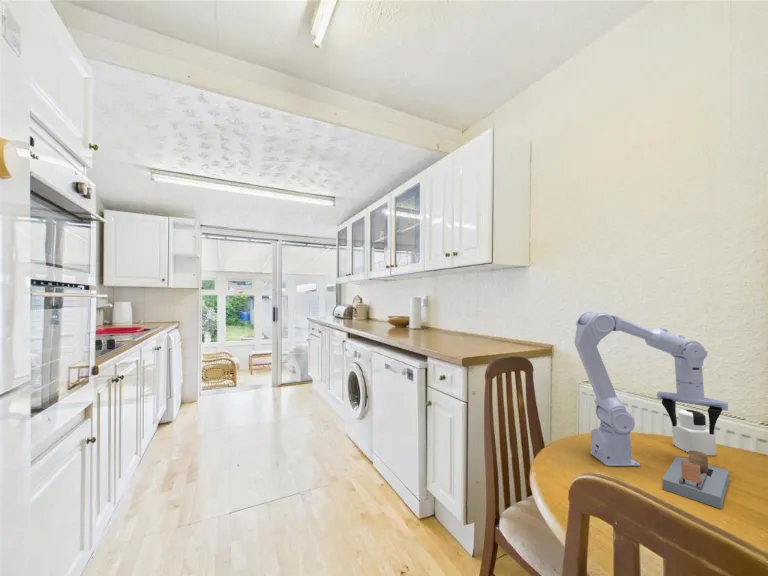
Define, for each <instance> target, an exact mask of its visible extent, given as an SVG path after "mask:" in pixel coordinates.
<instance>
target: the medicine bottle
mask: <svg viewBox="0 0 768 576" xmlns="http://www.w3.org/2000/svg"><path fill="white" fill-rule="evenodd" d="M706 423H707V422H706V415H705V414H704V413H703V412H700V411H697V410H693V409H680V410H678V422H677V425H676V427H675V426H672V425H671V433H672V445H673V446H674V445H675V446H674V447H676V448H678V449H680V450H682V451H684V452H685V451H686V453H687V452H688V451H698V452H701V453H704V454H706V455H707V456H714V457H715V456H717V442H716V432H715V431H714V434H713V435H712V434H710V433H709V428H707V424H706Z"/></svg>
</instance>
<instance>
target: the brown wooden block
mask: <svg viewBox="0 0 768 576" xmlns="http://www.w3.org/2000/svg"><path fill="white" fill-rule="evenodd" d="M687 455H688V460H689V462H690V463H694V464H697V465H700V473H701V474H703V473H706V474H707V476H709V472H708V465H709V461H708V460H709V459H708V455H706V454H704V453H701V452H698V451H688V453H687Z"/></svg>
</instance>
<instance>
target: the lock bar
mask: <svg viewBox="0 0 768 576" xmlns="http://www.w3.org/2000/svg"><path fill="white" fill-rule="evenodd" d="M681 470H682V479H685V484H688V485H691V486H694V487H697V485H698V484H699V483H700V481H701V473H700V465H697V464H694V463H690V462H687V461H682V463H681Z"/></svg>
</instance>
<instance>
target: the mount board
mask: <svg viewBox="0 0 768 576" xmlns="http://www.w3.org/2000/svg"><path fill="white" fill-rule="evenodd" d="M682 461H687V462H689V458H688V459H687V458H684V457H681V456H675V458H674V460H673V461H672V463H671V465H670V466H669V468H668V469H667V471H666V473H665V474H664V476H663V477H662V479H661V480H662V490H664V491H666V490H667V492H669V491H670V493H672V492H673V494H675V495H679V496H682V497H685V498H687V499H689V500H694V501H697V502H699V503H702V504H705V505H707V504H708V505H709V506H710V505H711V507H713V508H717V509H720V510H722V508H723V504H724V502H725V501H724V500H725V498H726V494H727V489H728V487H729V482H730V474H729V470H728V469H724V468H720V467H716V466H713V465H710V464H708V472H709V476H707V474H706V473H703V474H701V481H700V483H699V484H698V485H697V487H694V486H691V485H688V484H685V479H682V470H681V463H682Z"/></svg>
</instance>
